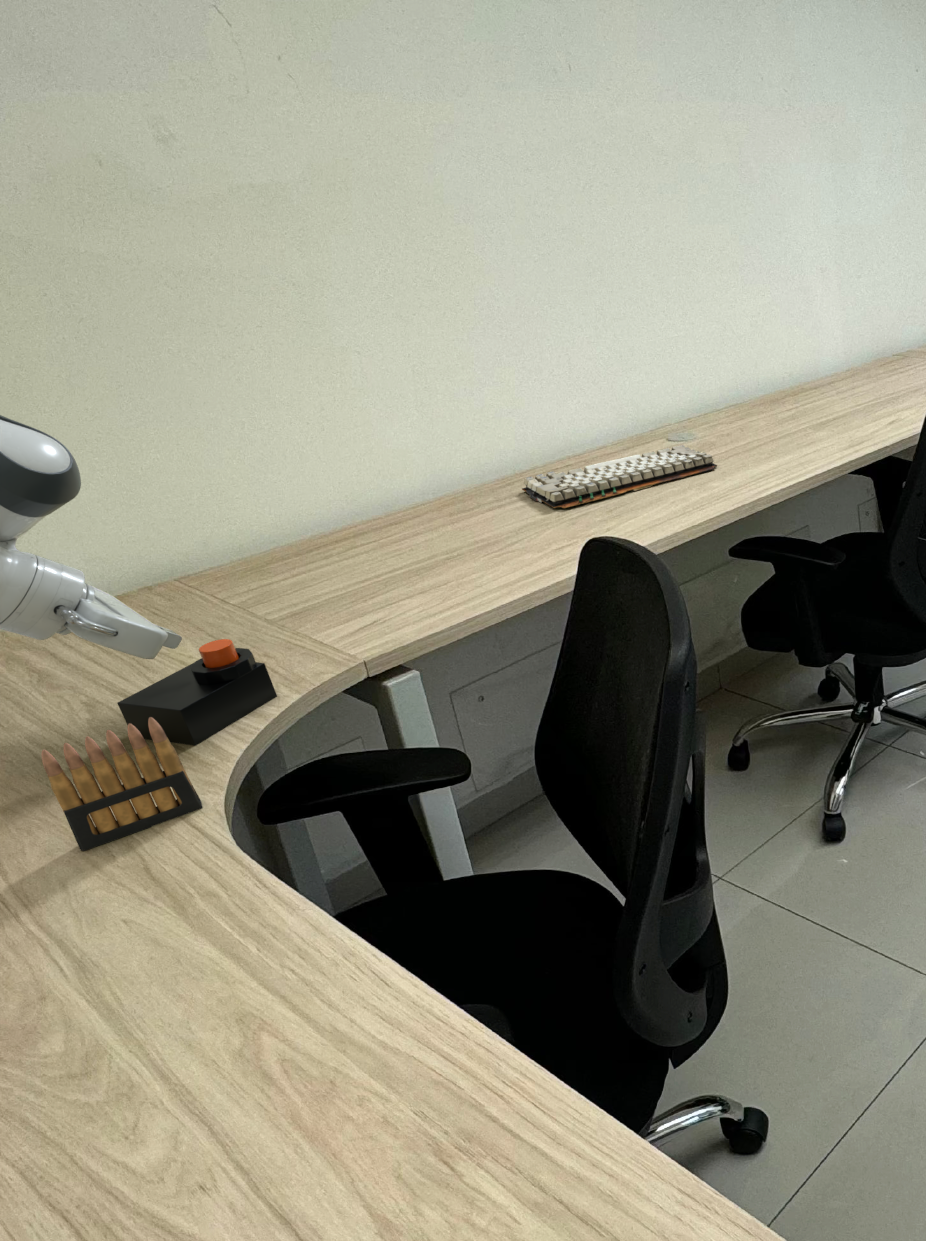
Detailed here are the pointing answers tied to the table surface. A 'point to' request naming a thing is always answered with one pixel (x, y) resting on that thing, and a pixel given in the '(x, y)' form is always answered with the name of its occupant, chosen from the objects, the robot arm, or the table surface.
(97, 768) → the ammunition clip
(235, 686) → the push button box
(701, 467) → the mechanical keyboard
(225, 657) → the orange push button
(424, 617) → the table surface
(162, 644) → the robot arm
